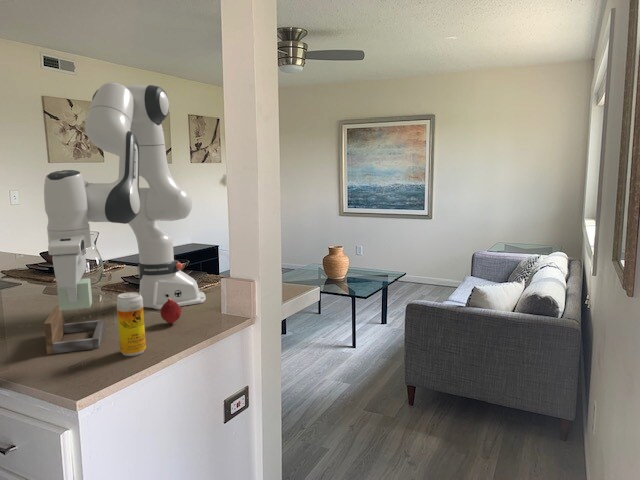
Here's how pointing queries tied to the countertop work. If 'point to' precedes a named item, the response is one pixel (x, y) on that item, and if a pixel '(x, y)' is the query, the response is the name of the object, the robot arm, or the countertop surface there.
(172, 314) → the onion
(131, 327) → the beer can
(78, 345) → the grey and wood frame
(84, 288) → the cabinet block
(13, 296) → the countertop surface
